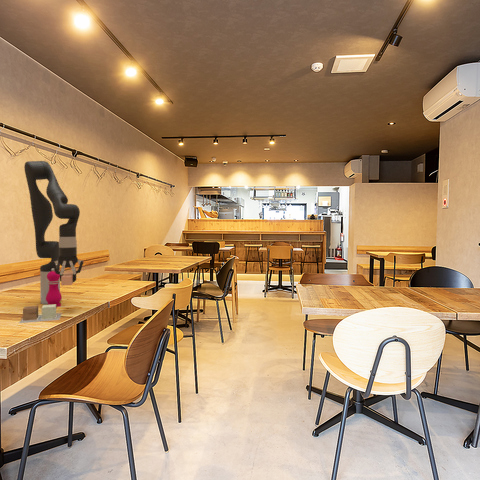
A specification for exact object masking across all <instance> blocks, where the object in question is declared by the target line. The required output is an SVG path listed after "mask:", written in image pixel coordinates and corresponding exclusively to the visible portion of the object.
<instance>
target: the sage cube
mask: <svg viewBox="0 0 480 480" xmlns="http://www.w3.org/2000/svg"><path fill="white" fill-rule="evenodd" d="M56 313H57V307H56V304H52V305H47V304H42V306H41V315H42V319H49V318H55V317H56Z"/></svg>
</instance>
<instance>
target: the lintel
mask: <svg viewBox="0 0 480 480" xmlns="http://www.w3.org/2000/svg"><path fill="white" fill-rule="evenodd" d="M63 274H64V275H63V276H62V277H61V282H60V286H72V285H73V284H74V282H73V272H65V273H63Z"/></svg>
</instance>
